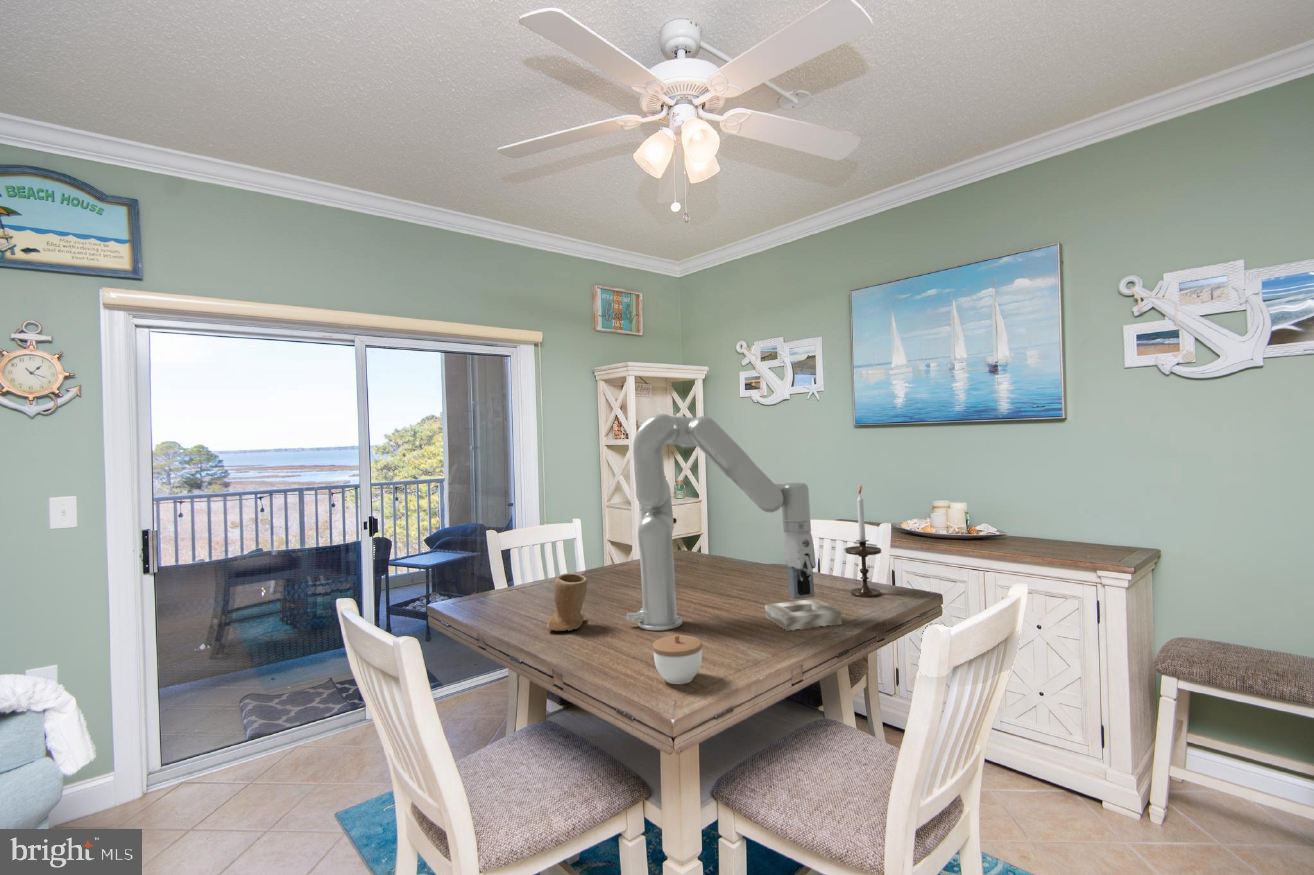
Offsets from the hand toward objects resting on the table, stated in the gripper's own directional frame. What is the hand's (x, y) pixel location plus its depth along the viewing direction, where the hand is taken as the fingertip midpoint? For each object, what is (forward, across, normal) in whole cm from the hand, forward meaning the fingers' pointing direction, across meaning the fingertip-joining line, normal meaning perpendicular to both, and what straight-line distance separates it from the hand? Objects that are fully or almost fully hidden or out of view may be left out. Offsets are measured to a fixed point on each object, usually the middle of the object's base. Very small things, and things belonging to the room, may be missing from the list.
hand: (801, 592), depth 164 cm
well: (+8, 0, 0) cm, 8 cm away
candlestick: (+8, +18, -31) cm, 37 cm away
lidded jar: (+8, -28, +43) cm, 52 cm away
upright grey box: (+1, 0, 0) cm, 1 cm away
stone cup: (+8, +21, +63) cm, 67 cm away
